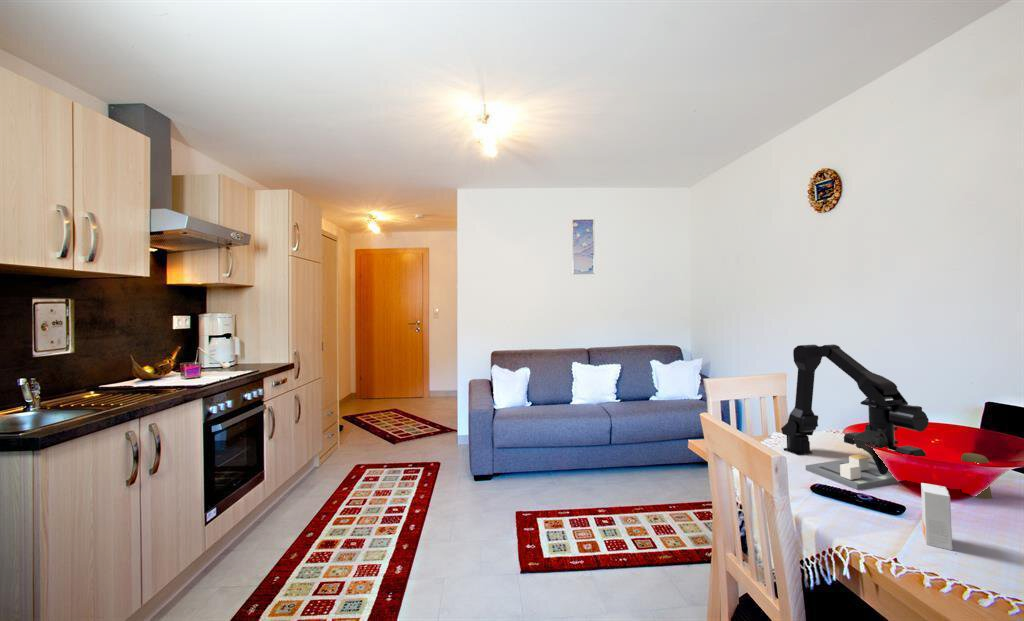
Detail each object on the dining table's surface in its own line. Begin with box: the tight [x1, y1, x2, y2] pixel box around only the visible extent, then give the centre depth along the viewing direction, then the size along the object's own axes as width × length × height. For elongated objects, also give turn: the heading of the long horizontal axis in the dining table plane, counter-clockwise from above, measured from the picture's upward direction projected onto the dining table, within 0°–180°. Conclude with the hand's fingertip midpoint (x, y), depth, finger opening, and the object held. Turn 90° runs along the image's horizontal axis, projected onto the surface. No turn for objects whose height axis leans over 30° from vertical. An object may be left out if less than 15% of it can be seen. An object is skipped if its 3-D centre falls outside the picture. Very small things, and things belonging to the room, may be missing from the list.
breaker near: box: [840, 463, 861, 480], centre depth 126 cm, size 3×4×4 cm
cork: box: [960, 452, 993, 500], centre depth 117 cm, size 6×6×11 cm
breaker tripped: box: [848, 454, 870, 471], centre depth 132 cm, size 3×4×4 cm
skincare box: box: [920, 482, 953, 551], centre depth 94 cm, size 6×4×12 cm
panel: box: [805, 458, 899, 491], centre depth 132 cm, size 16×24×2 cm, turn 105°
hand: (882, 474), depth 126 cm, fingers closed
